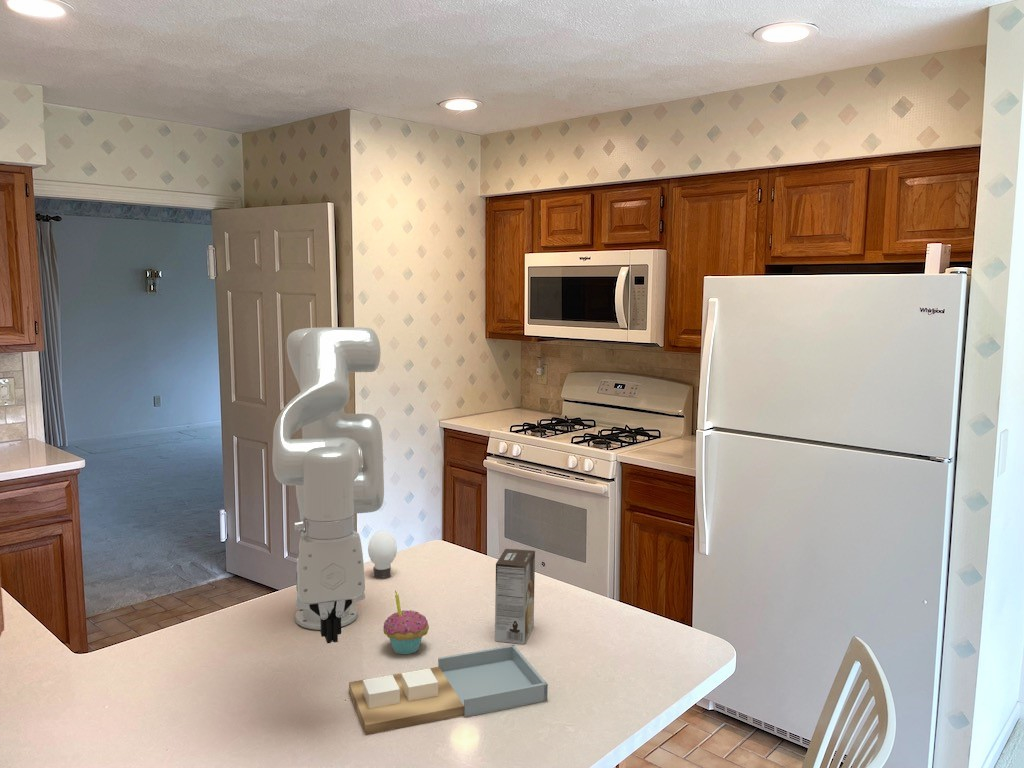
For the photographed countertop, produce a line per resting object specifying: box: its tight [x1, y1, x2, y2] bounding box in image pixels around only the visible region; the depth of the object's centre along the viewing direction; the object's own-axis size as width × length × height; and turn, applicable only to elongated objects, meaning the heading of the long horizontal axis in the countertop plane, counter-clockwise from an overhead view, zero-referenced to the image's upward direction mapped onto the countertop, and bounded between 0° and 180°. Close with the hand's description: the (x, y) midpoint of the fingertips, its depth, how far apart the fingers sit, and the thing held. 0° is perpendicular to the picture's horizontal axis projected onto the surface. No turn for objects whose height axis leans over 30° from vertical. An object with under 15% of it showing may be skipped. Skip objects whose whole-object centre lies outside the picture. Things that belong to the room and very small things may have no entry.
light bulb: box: [367, 530, 398, 580], centre depth 187 cm, size 7×7×11 cm
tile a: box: [362, 674, 400, 709], centre depth 130 cm, size 5×5×2 cm
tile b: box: [400, 667, 438, 701], centre depth 133 cm, size 5×5×2 cm
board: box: [348, 666, 464, 736], centre depth 132 cm, size 14×16×2 cm
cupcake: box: [383, 590, 430, 655], centre depth 151 cm, size 9×8×12 cm
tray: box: [437, 644, 549, 718], centre depth 138 cm, size 15×15×3 cm
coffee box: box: [494, 548, 536, 645], centre depth 158 cm, size 9×6×16 cm
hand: (331, 639), depth 125 cm, fingers closed
